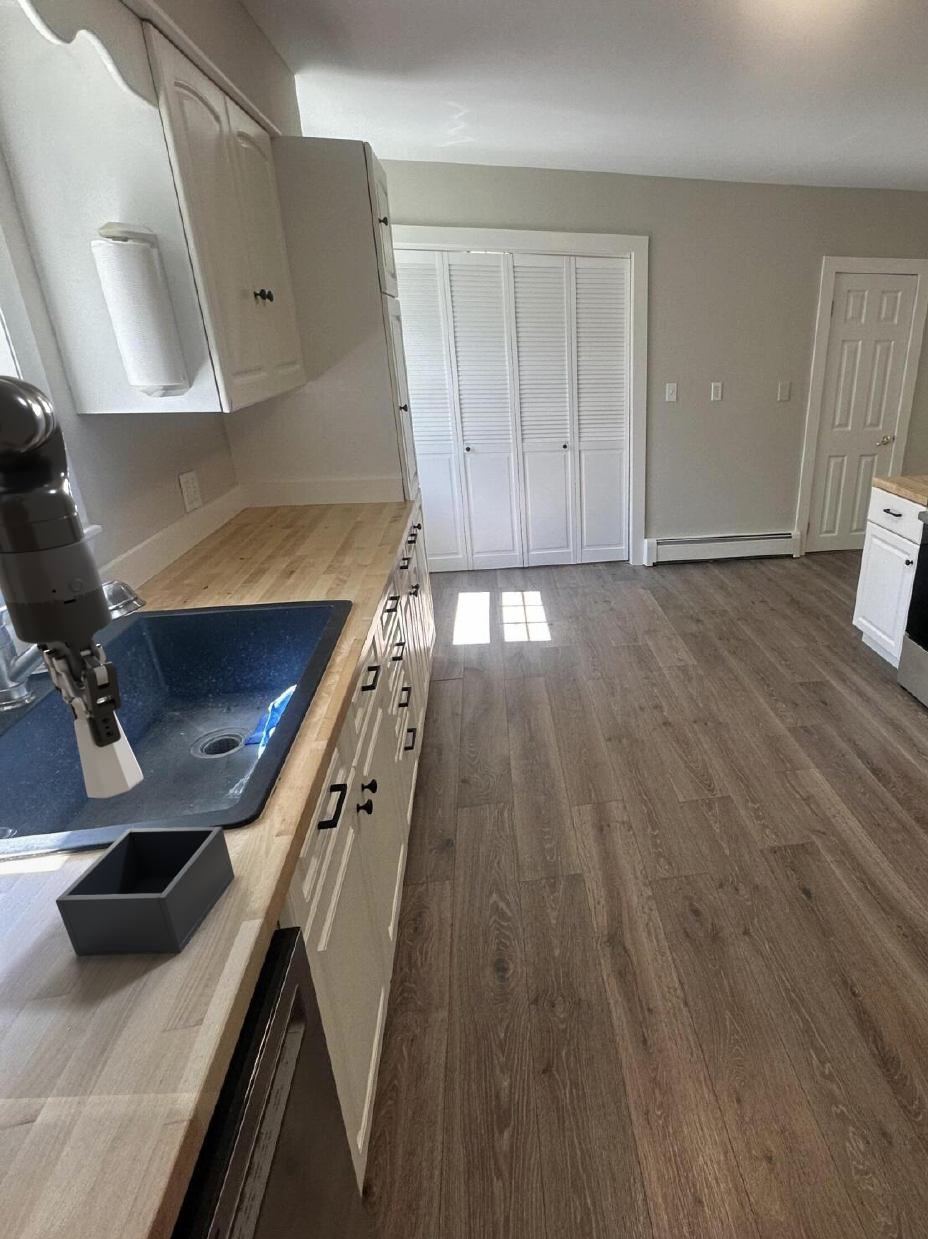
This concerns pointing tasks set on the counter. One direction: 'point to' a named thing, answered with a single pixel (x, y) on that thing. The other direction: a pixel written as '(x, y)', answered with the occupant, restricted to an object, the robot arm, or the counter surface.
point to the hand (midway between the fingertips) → (99, 736)
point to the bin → (147, 891)
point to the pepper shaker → (105, 761)
